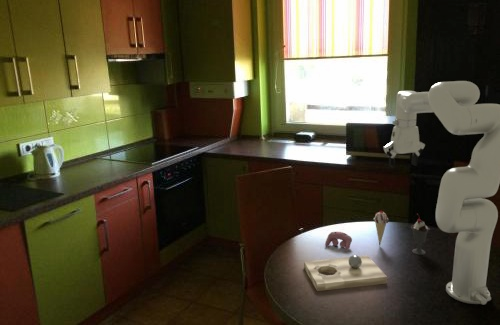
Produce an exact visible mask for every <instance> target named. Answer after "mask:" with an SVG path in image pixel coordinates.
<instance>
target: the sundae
mask: <svg viewBox="0 0 500 325" xmlns="http://www.w3.org/2000/svg"><path fill="white" fill-rule="evenodd" d="M416 215H417V216H418V219H417V220H416V222H414V224H411V225H410V228H411V230H412V235H413V241H414V242H415V244H417V247H416V248H414V249H412V250H411V252H412V254H414V255H418V256H424V255H425V254H426V251H425V250H424V249H422V247H421V246H422V244H424V243H425V242H426V239H427V235H428V231H430V230H431V228H430V227H429V226H427V225H426V224H425V221H424V220H421V219H420V218H421V217H420V215H419V213H416Z"/></svg>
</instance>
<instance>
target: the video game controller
mask: <svg viewBox="0 0 500 325" xmlns="http://www.w3.org/2000/svg"><path fill="white" fill-rule="evenodd" d="M338 240H340V243H339V241H338ZM352 241H353V238H352V237H351V236H350V235H348V234H347V233H345V232H343V231H331V232H330V233H329V234H328V236H327V238H326V240H325V243H324V247H325V248H328V247H329V246H330V244H332V245H333V246H336V247H337V246H338V245H339V246H340V247H341V248H344V249H345V252H348V251H349V250H350V247H351V244H352Z"/></svg>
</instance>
